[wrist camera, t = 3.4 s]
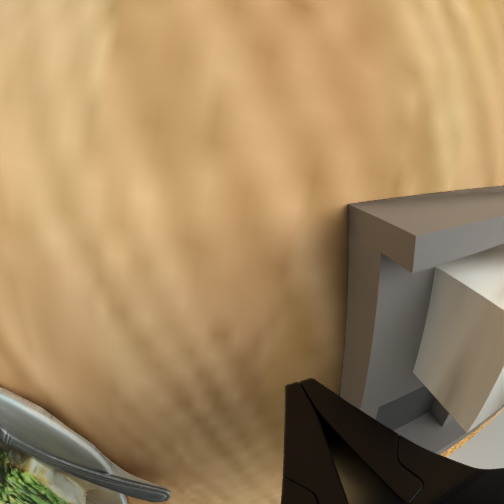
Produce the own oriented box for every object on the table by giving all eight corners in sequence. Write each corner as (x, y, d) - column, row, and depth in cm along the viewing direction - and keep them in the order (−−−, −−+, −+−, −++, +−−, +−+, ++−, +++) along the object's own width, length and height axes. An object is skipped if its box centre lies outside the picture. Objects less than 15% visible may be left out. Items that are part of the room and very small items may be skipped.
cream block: (515, 239, 10) (578, 271, 6) (492, 328, 12) (541, 367, 8) (435, 266, 9) (521, 322, 5) (412, 372, 11) (466, 433, 7)
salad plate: (172, 379, 11) (178, 476, 7) (169, 519, 17) (175, 564, 13) (-120, 300, 6) (-157, 339, 2) (-30, 469, 12) (-40, 505, 7)
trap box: (554, 181, 13) (595, 196, 9) (510, 359, 19) (536, 382, 15) (348, 204, 10) (429, 242, 6) (330, 458, 16) (353, 505, 12)
